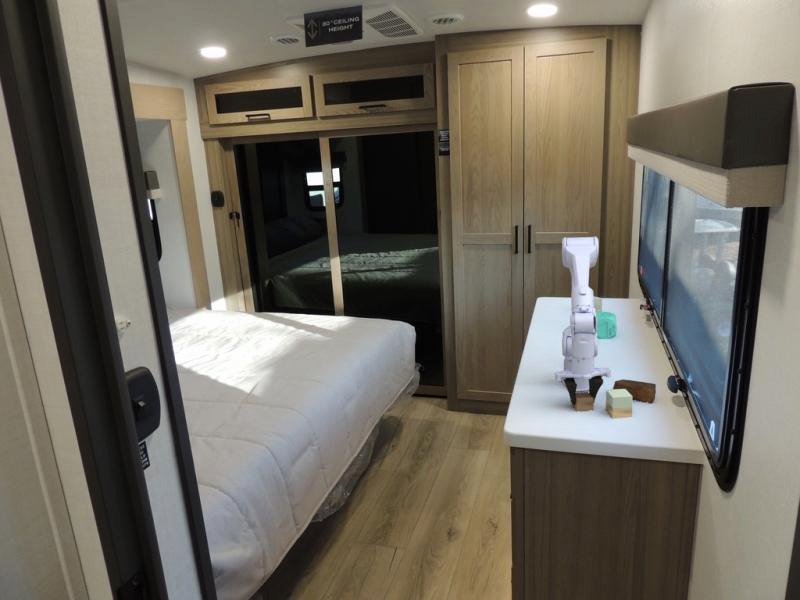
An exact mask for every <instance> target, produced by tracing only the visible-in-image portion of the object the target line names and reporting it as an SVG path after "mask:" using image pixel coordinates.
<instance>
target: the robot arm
mask: <svg viewBox="0 0 800 600" xmlns="http://www.w3.org/2000/svg"><path fill="white" fill-rule="evenodd" d="M561 241H562V242H561V256H562V257H561V258H562V260H561V261H562V265H563V267H564V268H567V269H569V272H570V275H571V276H570V277H571V293H570V294H571V301H570V302H571V314H570V316H569V317H570V319H569V326H567V327H566V328H564V329H563V331H562V338H561V352H562V356H563V357H564V359H563V370H560V371H555V372H554V379H555V380H556V381H557V382H561V383H562V384H563V385H564V386H565V387H566V389H567V391H568V395H569V399H570V400H569V401H570V403H572V404H573V405H576V393H577V392H588V393H589V394H590V395H591V396H592V397H593V398H594V403H596V402H595V400H596V398H597V396H598V392H599V390H600V388H601V387H602V386H603V384H604V378H603V377H606V378H611V375H612V374H611V373H612V372H611V369H610V368H609V367H595V358H596V357H597V356H598V355H599V354H598V353H599V341H598V339H599V338H597V332H596V331H597V316H596V312H595V308H594V290H593V289H592V288H591V287H590V286H589V282H590V281H589V279H590V269H591V268H593V267H595V266H596V263H597V262H598V257H599V251H600V250H599V238H598V237H597V236H591V237H590V236H586V237H583V236H582V237H581V236H580V237H565V236H564V237H563V238H562V239H561ZM593 327H594V329H593Z"/></svg>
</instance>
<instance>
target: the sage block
mask: <svg viewBox="0 0 800 600" xmlns="http://www.w3.org/2000/svg"><path fill="white" fill-rule="evenodd" d="M605 395H606V396H605V397H606V398H605V402H606V401H607V402H608V403H609V404H610V406H611V407H612V408H627V407H632V408H633V400H632V397H633V396H632V395H631V394H630V393H629V392H628V391H627V390H626V389H614V390H613V389H606V393H605Z"/></svg>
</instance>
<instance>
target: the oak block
mask: <svg viewBox="0 0 800 600" xmlns="http://www.w3.org/2000/svg"><path fill="white" fill-rule="evenodd" d="M605 411H606V412H607V414H608V415H609V416H610V417H611V418H612V419H620V418H621V419H623V418H624V419H625V418H632V417H633V406H632V407H627V408H612V407H611V406H610V404H609V403H608V402H607V401H606V400H605Z"/></svg>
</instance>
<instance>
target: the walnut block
mask: <svg viewBox="0 0 800 600" xmlns="http://www.w3.org/2000/svg"><path fill="white" fill-rule="evenodd" d="M570 403H571V402H570ZM571 404H572V403H571ZM594 404H595V402H594V398H593V397H592V396H591V395H590V394H589V391H576V405H573V404H572V405H573V406H572V405H571V406H572V407H573V409H574V408H575V409H574V410H575V411H576V412H577V411H580V412H589V410H592V411H594Z"/></svg>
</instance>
